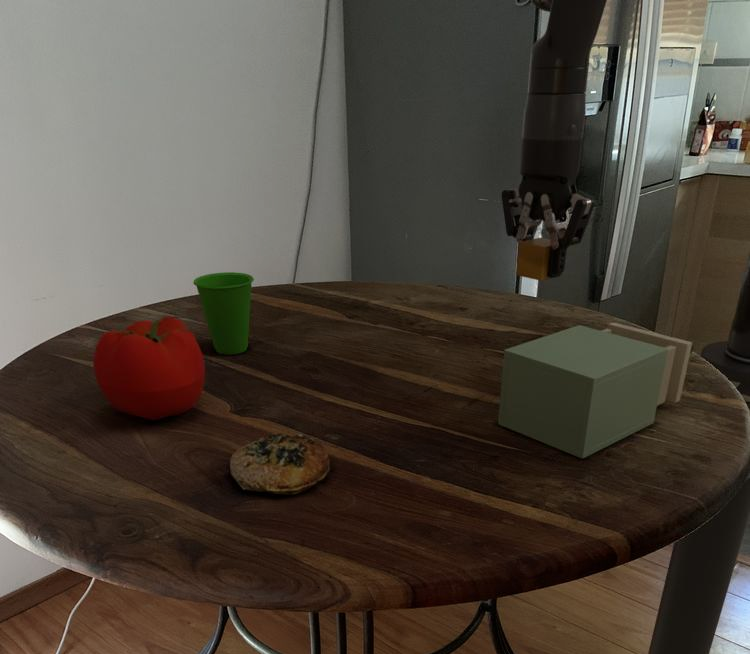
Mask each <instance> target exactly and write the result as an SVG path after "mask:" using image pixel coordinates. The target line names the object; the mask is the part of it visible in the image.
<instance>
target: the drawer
mask: <svg viewBox="0 0 750 654" xmlns="http://www.w3.org/2000/svg"><path fill="white" fill-rule="evenodd" d="M600 331H604V332H607V333H611V334H615V335H619V336H622V337H626V338H630V339H634V340H637V341H641V342H645V343H649V344H652V345H656V346H660V347H664V348H667V349H668V352H667V358H666V363H665V368H664V373H663V378H662V383H661V388H660V393H659V398H658V403H657V407H658V406H659V405H662V404H664V403H665V402H667V401H668V402H671V403H674V404H676V403H678V402H680V401H681V398H682V393H683V388H684V384H685V379H686V374H687V370H688V365H689V360H690V355H691V354H693V351H694V344H693V342H692V341H688V340H686V339H685V340H684V339H682V338H681V339H680V338H678V337H677V338H676V337H672V336H668V335H665V334H660V333H657V332H653V331H649V330H647V329H646V330H645V329H641V328H638V327H634V326H630V325H626V324H623V323H622V324H621V323H618V322H615V321H613V322H610V323H608V325H607V328H605V329H601V330H600Z"/></svg>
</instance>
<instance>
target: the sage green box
mask: <svg viewBox="0 0 750 654" xmlns="http://www.w3.org/2000/svg"><path fill="white" fill-rule="evenodd" d="M667 352H668V349H667V348H664V347H660V346H656V345H652V344H649V343H645V342H641V341H637V340H634V339H630V338H626V337H622V336H619V335H615V334H611V333H607V332H604V331H601V330H599V329H597V328H592V327H589V326H585V325H581V324H578V325H576V326H572V327H569V328H566V329H562V330H560V331H557V332H554V333H551V334H548V335H545V336H542V337H538V338H536V339H533V340H529V341H527V342H524V343H520V344H518V345H515V346H512V347H509V348H506V349H504V350H503V360H502V362H503V363H502V370H501V371H502V372H501V384H500V385H501V386H500V398H499V409H498V410H499V411H498V419H497V420H498V422H497V425H500V426H502V427H504V428H507V429H508V430H511V431H514V432H517V433H519V434H521V435H524V436H526V437H528V438H531V439H534V440H536V441H538V442H541V443H543V444H545V445H548V446H550V447H552V448H555V449H558V450H560V451H563V452H565V453H567V454H569V455H572V456H575V457H577V458H579V459H585V458H587V457H589V456H591V455H593V454H595V453H597V452H599V451H601V450H603V449H605V448H607V447H609V446H611V445H613V444H614V443H615V444H616V443H617V442H619V441H621V440H624V439H625V438H627V437H628V436H631V435H633V434H635V433H637V432H639V431H641V430H644V428H645V429H646V428H647V427H649V426H651V425H653V424H654V422H655V417H656V413H657V408H658V406H657V403H658V398H659V393H660V388H661V383H662V378H663V373H664V368H665V363H666V358H667Z"/></svg>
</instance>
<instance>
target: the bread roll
mask: <svg viewBox="0 0 750 654" xmlns="http://www.w3.org/2000/svg"><path fill="white" fill-rule="evenodd" d="M229 462H230V464H229V468H230V473H229V474H230V475H231V476H232V477H233V479H234V480H235V482H237V484H238V486H239V487H241V488H242V490H247V491H252V492H259V493H261V492H263V493H264V492H267V493H268V492H269V493H271V494H275V495H286V496H287V495H296V494H300V493H303V492H305V491H308V490H309V489H311V488H312V487H314V486H315V485H317V484H318V483H320V482H322V480H324V479H325V478H326V477H327V475H328V474H329V472H330V471H331V459H330V456H329V452H327V450H326V448H325V447H324V446H323V444H322V443H321V442H319V440H316V439H315V438H313V437H310V436H306V435H305V434H303V433H297V434H296V435H294V434H287V433H285V434H284V433H277V434H276V435H275V434H270V435H268V436H267V437H260V438H259V439H256V440H254V441H252V442H248V443H246V444H244V445H243V446H241V447H238V449H237V450H236V451H235V452H234V453H233V454H232V455H231V457H230V460H229Z"/></svg>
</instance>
